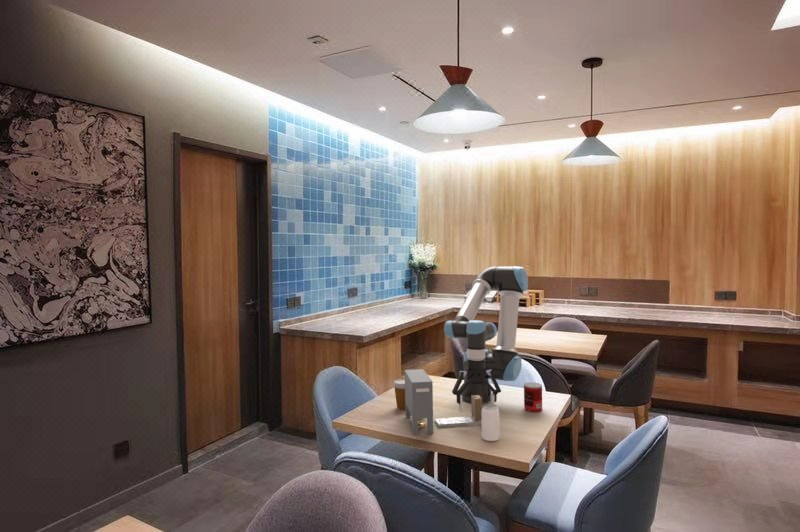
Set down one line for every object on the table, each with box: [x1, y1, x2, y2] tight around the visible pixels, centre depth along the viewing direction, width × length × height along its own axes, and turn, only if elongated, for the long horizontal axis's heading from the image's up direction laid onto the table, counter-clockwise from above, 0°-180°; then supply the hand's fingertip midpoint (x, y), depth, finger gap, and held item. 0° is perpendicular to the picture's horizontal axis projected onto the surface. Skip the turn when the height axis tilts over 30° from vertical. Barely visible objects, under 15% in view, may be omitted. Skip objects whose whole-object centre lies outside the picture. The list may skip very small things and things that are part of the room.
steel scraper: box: [434, 395, 483, 429], centre depth 197 cm, size 19×7×10 cm, turn 99°
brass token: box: [418, 420, 426, 429], centre depth 195 cm, size 5×5×1 cm
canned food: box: [523, 381, 543, 413], centre depth 213 cm, size 8×8×11 cm
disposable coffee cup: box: [392, 378, 405, 411], centre depth 218 cm, size 10×10×12 cm
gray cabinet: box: [404, 368, 434, 435], centre depth 196 cm, size 8×22×20 cm, turn 7°
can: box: [481, 403, 500, 442], centre depth 180 cm, size 6×6×12 cm
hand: (476, 410), depth 197 cm, fingers open, 13 cm apart
